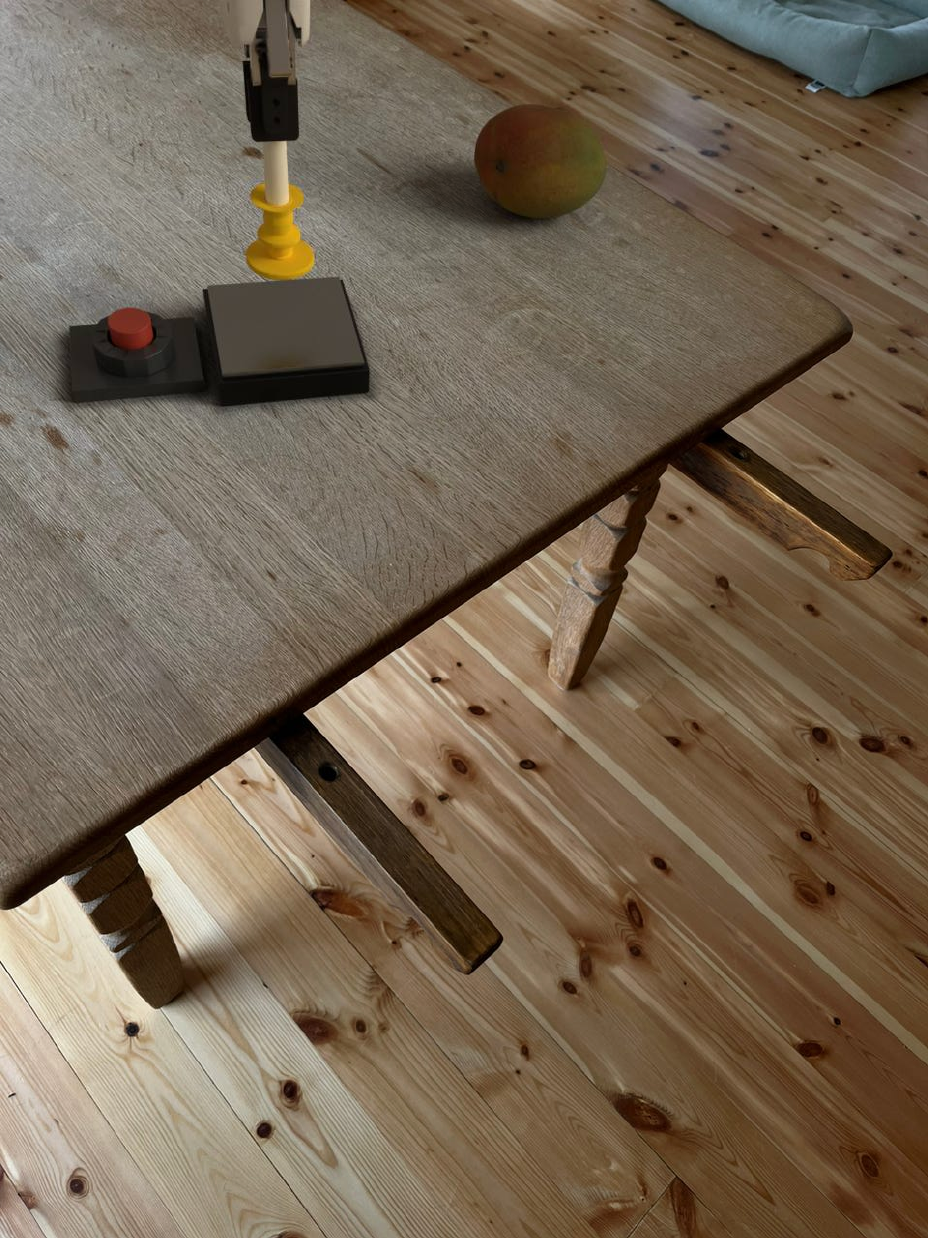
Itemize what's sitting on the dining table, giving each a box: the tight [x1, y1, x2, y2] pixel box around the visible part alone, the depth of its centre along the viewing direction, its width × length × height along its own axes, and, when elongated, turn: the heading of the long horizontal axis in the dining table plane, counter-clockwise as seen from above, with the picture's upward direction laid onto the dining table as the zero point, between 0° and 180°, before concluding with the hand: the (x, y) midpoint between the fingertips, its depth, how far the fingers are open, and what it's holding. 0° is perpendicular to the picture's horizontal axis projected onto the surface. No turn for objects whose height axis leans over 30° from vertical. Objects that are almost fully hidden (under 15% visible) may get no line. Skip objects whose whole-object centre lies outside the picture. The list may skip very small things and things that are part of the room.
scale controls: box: [68, 310, 206, 404], centre depth 81 cm, size 10×8×3 cm
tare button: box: [108, 307, 153, 350], centre depth 79 cm, size 3×3×2 cm
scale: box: [201, 276, 371, 407], centre depth 84 cm, size 12×12×3 cm
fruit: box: [473, 103, 607, 219], centre depth 98 cm, size 12×13×10 cm
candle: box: [245, 141, 315, 281], centre depth 72 cm, size 5×5×16 cm
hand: (272, 128), depth 69 cm, fingers closed on candle
